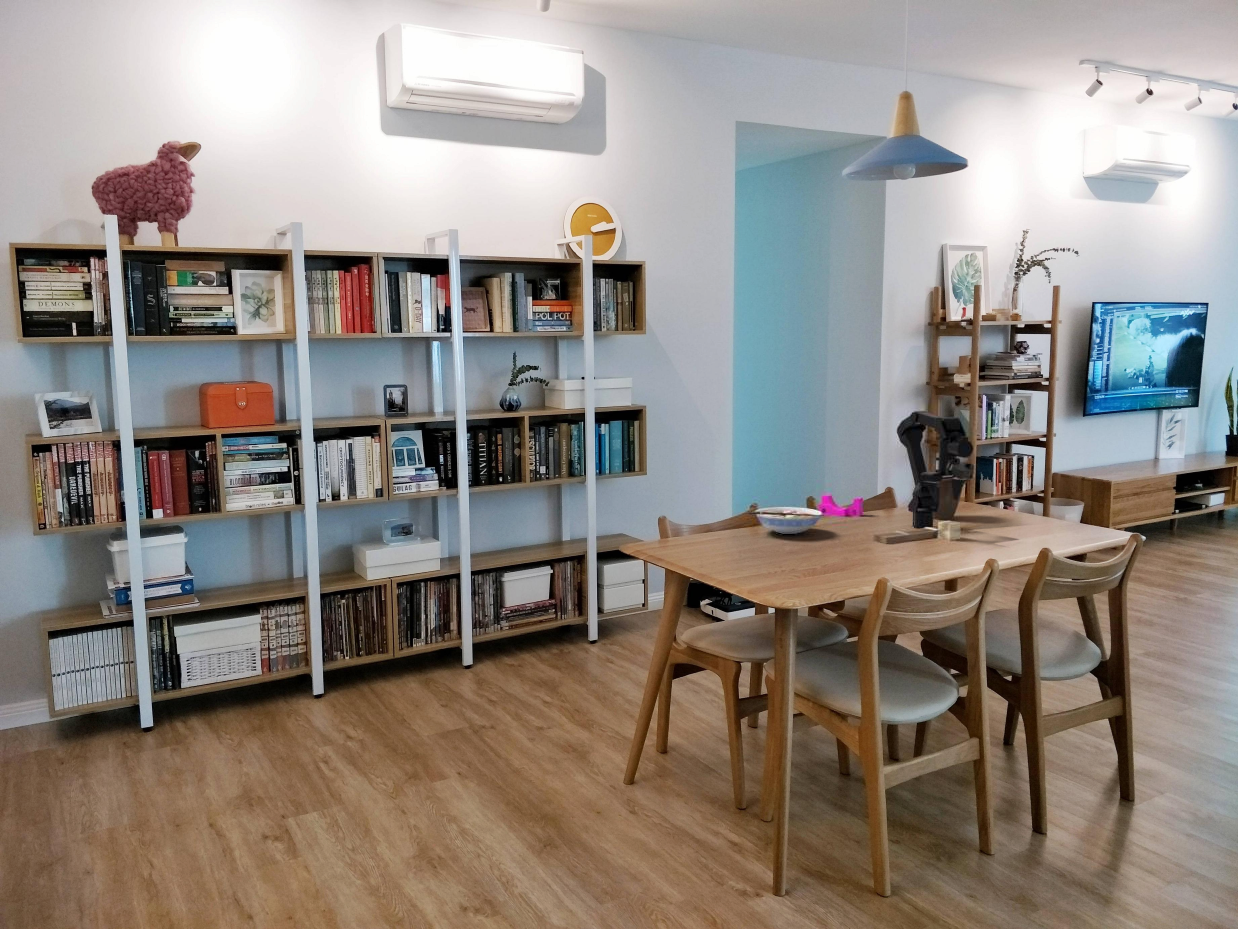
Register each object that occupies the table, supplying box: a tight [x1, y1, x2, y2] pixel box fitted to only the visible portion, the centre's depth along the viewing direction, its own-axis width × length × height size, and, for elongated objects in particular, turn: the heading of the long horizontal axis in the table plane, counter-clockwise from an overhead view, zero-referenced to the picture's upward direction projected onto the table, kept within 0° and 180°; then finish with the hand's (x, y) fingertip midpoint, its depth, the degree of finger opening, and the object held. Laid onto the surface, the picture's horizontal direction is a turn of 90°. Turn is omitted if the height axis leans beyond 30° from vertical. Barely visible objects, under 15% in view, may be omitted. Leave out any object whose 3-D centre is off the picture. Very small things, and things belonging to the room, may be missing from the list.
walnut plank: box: [872, 526, 938, 545], centre depth 324 cm, size 6×28×2 cm, turn 119°
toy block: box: [818, 494, 864, 518], centre depth 367 cm, size 15×6×8 cm, turn 55°
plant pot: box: [933, 478, 963, 521], centre depth 357 cm, size 15×15×16 cm
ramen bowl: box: [748, 506, 825, 535], centre depth 334 cm, size 25×23×8 cm
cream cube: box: [934, 520, 962, 542], centre depth 323 cm, size 6×5×6 cm
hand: (946, 501), depth 325 cm, fingers open, 9 cm apart
